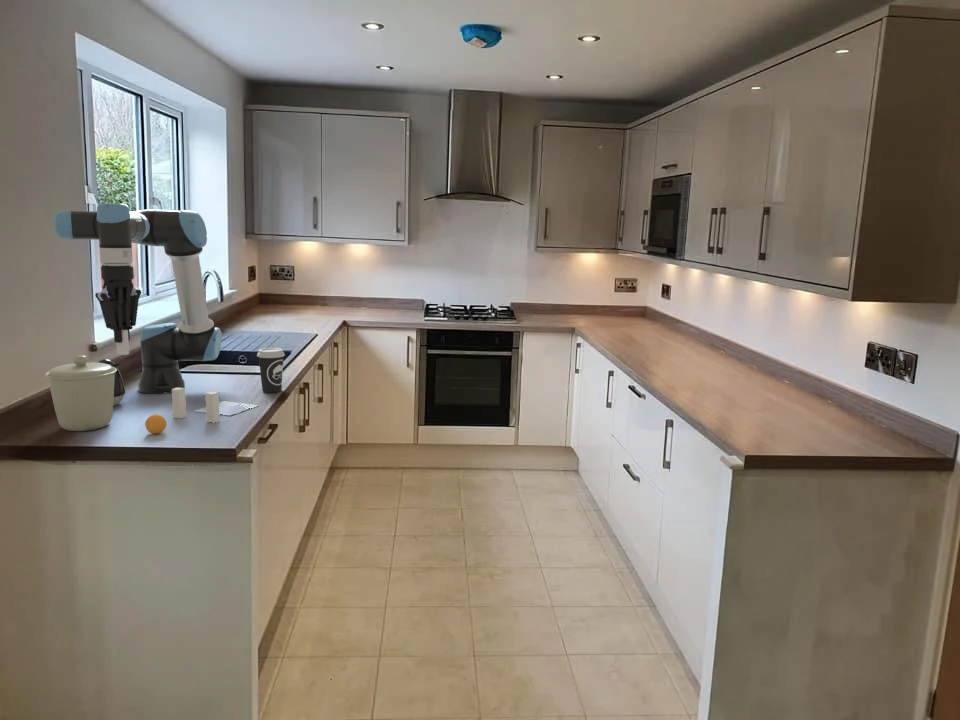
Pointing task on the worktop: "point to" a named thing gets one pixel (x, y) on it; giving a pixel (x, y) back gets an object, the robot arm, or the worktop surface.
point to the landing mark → (227, 404)
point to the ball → (155, 424)
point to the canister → (82, 394)
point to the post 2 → (212, 407)
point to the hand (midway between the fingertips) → (123, 354)
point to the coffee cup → (271, 369)
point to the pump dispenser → (116, 382)
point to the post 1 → (179, 402)
